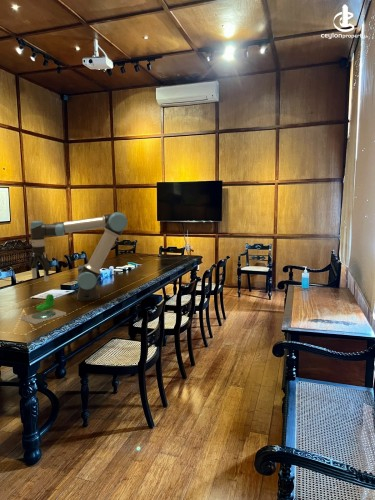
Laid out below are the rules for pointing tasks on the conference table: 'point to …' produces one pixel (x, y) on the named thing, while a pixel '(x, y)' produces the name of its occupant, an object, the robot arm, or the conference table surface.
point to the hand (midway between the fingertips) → (40, 279)
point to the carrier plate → (43, 316)
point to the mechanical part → (46, 303)
